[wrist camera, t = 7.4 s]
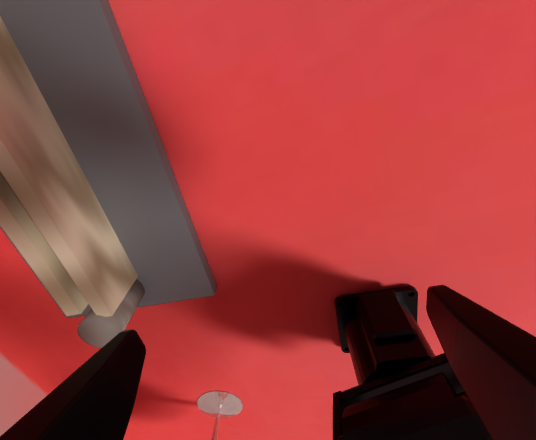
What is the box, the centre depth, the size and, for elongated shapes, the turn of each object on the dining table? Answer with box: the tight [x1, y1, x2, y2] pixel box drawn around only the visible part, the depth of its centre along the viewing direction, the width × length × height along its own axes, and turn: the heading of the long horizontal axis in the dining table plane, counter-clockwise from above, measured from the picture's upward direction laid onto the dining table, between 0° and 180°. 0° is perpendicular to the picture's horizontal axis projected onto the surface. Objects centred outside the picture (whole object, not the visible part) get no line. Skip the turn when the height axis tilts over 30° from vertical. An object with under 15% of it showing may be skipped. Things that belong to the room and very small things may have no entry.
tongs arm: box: [0, 171, 88, 316], centre depth 16 cm, size 17×1×4 cm, turn 12°
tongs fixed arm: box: [0, 16, 145, 348], centre depth 17 cm, size 20×3×4 cm, turn 12°
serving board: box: [0, 0, 217, 318], centre depth 19 cm, size 22×13×1 cm, turn 12°
